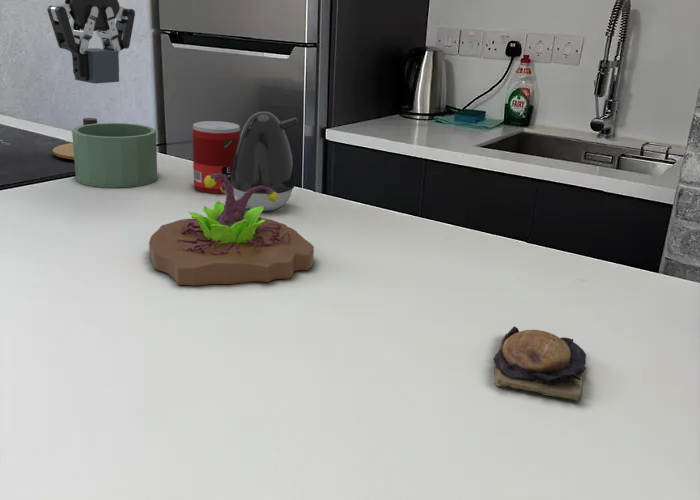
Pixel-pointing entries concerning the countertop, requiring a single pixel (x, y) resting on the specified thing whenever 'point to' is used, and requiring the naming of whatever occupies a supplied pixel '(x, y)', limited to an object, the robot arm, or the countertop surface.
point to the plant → (229, 243)
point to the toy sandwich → (540, 363)
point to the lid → (67, 149)
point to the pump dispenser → (264, 161)
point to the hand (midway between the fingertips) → (97, 78)
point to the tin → (115, 154)
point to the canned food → (213, 152)
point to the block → (102, 66)
